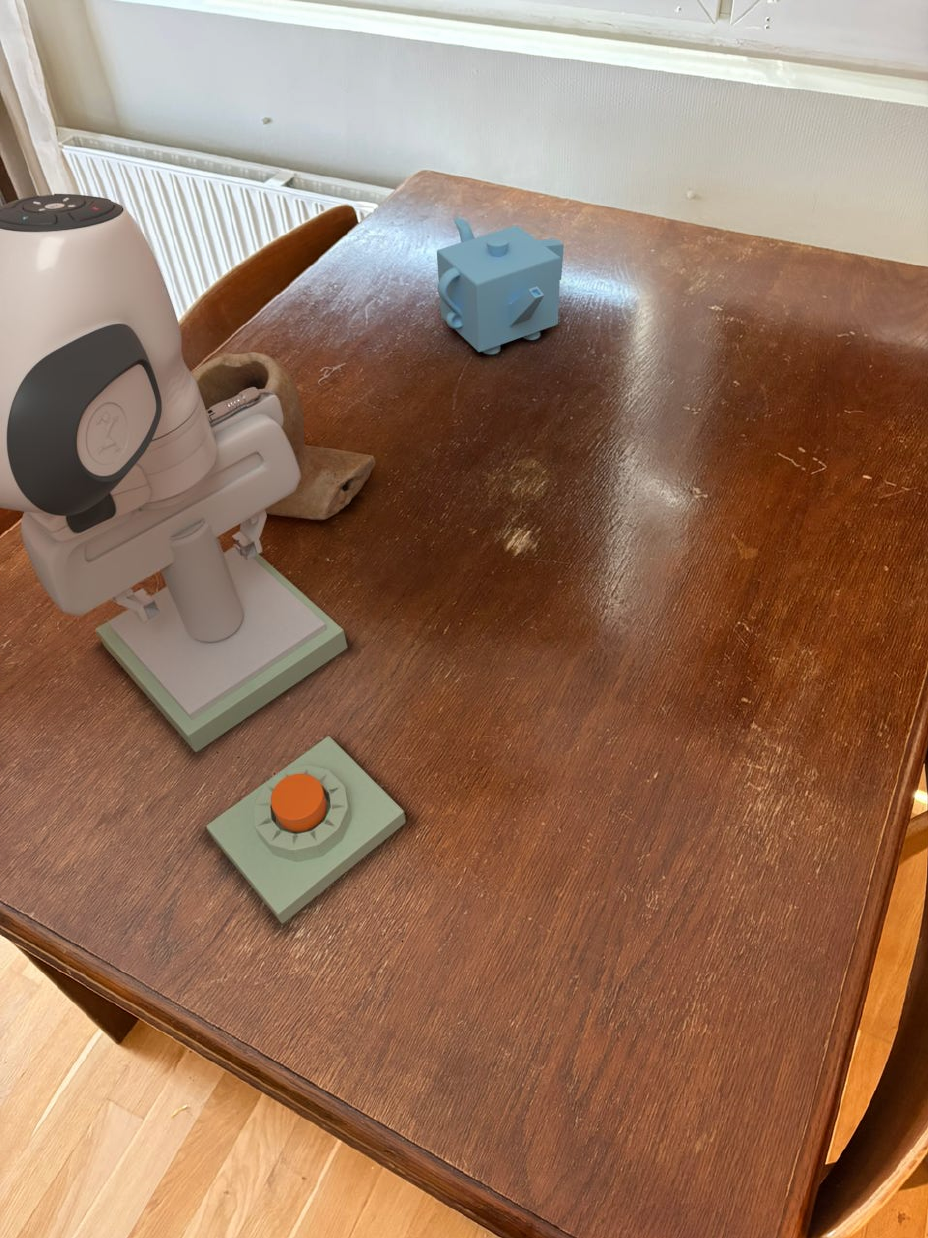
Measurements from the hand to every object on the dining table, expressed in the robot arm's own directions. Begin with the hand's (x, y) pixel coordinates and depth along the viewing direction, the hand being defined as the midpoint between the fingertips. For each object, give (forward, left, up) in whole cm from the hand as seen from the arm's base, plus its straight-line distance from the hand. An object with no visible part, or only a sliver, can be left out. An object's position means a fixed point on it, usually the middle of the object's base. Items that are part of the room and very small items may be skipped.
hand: (200, 582), depth 71 cm
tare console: (-5, -19, -8) cm, 21 cm away
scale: (0, 0, -8) cm, 8 cm away
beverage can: (0, 0, -5) cm, 5 cm away
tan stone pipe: (+15, +12, -8) cm, 21 cm away
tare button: (-5, -19, -5) cm, 20 cm away
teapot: (+51, +19, -8) cm, 55 cm away
